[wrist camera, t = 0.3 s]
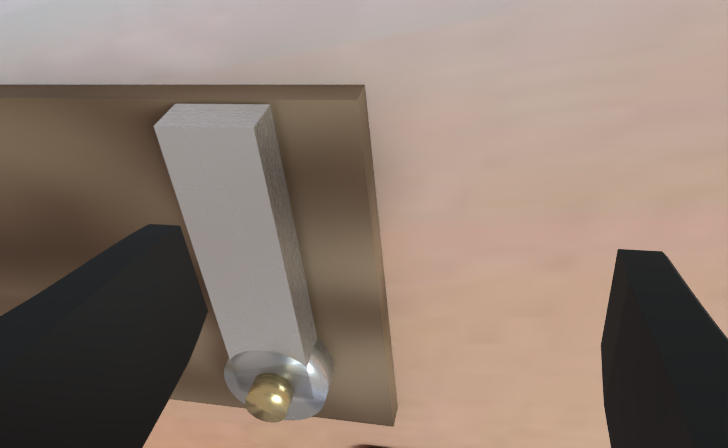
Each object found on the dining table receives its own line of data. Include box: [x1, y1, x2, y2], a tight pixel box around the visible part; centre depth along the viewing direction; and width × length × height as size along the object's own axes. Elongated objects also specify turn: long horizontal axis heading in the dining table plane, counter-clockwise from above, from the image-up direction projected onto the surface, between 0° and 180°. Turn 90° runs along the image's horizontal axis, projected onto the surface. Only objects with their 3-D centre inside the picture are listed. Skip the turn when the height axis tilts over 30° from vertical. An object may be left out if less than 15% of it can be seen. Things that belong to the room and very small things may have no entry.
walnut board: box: [0, 85, 397, 427], centre depth 24 cm, size 15×20×4 cm
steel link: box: [154, 104, 335, 422], centre depth 21 cm, size 13×4×2 cm, turn 5°
